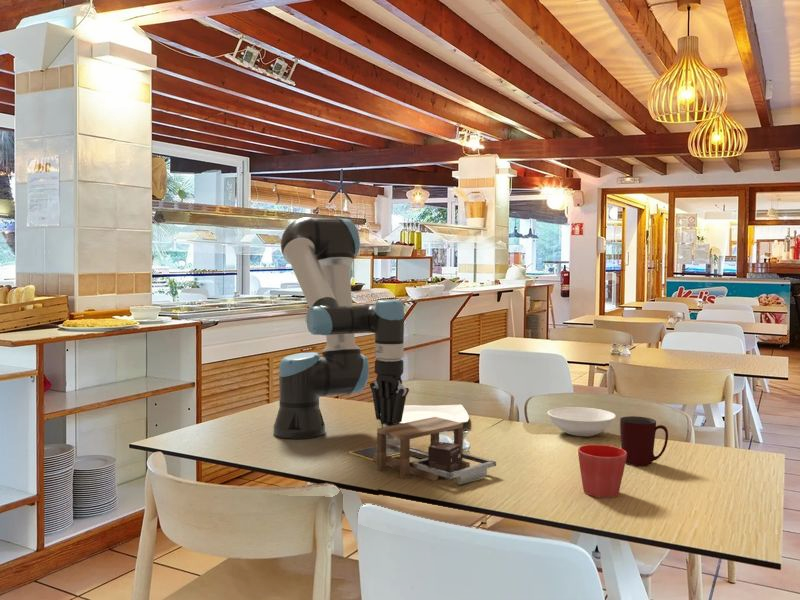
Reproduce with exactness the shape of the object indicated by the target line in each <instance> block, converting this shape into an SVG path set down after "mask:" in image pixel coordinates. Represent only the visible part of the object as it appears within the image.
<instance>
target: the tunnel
mask: <svg viewBox="0 0 800 600" xmlns="http://www.w3.org/2000/svg"><path fill="white" fill-rule="evenodd" d="M452 430H453V444H459V445H461V447H460V450H461V451H460V452H462V453H464V452H463V451H464V445H463V444H464V443H463V442H464V425H463V423H459V422H455V421H451V420H447V419H442V418H438V417H432V418H427V419H422V420H417V421H412V422H407V423H402V424H397V425H393V426H388V427H383V428H382V427H378V428H377V429H376V434H377V435H376V446H377V453H374V454H373V462H374V463H376V470H377V471H386V470H387V467H390V468H393V469H396V470H399V478H403V479H407V478H410V474H412V475H416V476H418V477H422V478H425V479H428V480H431V481H433V482H434V481H435V482H436V481H439V478H438V475H436V474H433V473H430V472H427V471H423V470H420V469H417V468H414V467H410V462H411V461H410V458H411V457H412V456H413V457H416V458H418V459H424V458H421V457H417V456H414V455H410V449H413V450H416V451H420V452H423V453H427V454H428V450H425V449H421V448H419V447H415V446H411V444H410V443H411V440H412V439H416V438H421V437H425V436H426V437H427V436H430V445H429V446H431V445H433V444H436V443H439V442H440V433H443V432H447V431H452ZM386 435H387V436H391V437H395V438H398V439H400V454H399V459H398V458H395V457H393V456H390V457H389V456H386ZM410 456H411V457H410ZM460 458H461V457H460ZM463 459H464V458H461V460H460V461H461V462H460V470H461V469H465V468H468V467H471V466H470V462H469V461H465V460H463Z"/></svg>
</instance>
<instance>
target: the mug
mask: <svg viewBox="0 0 800 600" xmlns="http://www.w3.org/2000/svg"><path fill="white" fill-rule="evenodd" d="M659 429H662V430H663V431H664V432H665V439H664V444H663V446H662V449H661V451H660V453H658V454H657V455H655V454H654V448H655V440H656V432H657V430H659ZM619 430H620V431H619V432H620V448H621V449H623V450H625V451H626V452H627V457H626V462H625V465H631V466H637V467H641V466H642V467H645V466H651V465H652V464H653V462H654V461H656V460H658V459H659V458H660V457H661V456H662V455H664V452H665V450H666V448H667V445H668V441H669V431H668V427H666V426H665V425H663V424H659V425H657V420H655V419H654V418H650V417H645V416H637V415H636V416H635V415H633V416H628V415H627V416H623V417H620V420H619Z"/></svg>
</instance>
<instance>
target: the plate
mask: <svg viewBox="0 0 800 600" xmlns="http://www.w3.org/2000/svg"><path fill="white" fill-rule="evenodd" d="M432 417H438V418H442V419H447V420H451V421H455V422H459V423H463V426H465V425H466V424H468V422H469V420H470V416H469V414H468V412H467V410H466V408H465V407H464V406H463V404H444V405H443V404H441V405H420V404H419V405H412V404H407V405H406V404H405V405H404V411H403V416H402V421H401V422H399V423H396V425H397V424H402V423H407V422H412V421H417V420H422V419H427V418H432Z"/></svg>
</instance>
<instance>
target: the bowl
mask: <svg viewBox="0 0 800 600" xmlns="http://www.w3.org/2000/svg"><path fill="white" fill-rule="evenodd" d="M547 415H548V416H549V417H550V419H551V422H552V424H553V425H554V426H556V427H557V428H558V429H559V430H561V431H563V432H564V433H566V434H567V435H570V436H576V437H577V436H578V437H593V436H596V435H598V434H601V433H602V432H604V431H605V430H606V429H609V428H610V427H611V425H612V423H613V421H614V420H615V419H616V417H617V416H616V414H615V413H614V412H612V411H608V410H605V409H600V408H593V407H585V406H584V407H583V406H563V407H556V408H555V407H554V408H552V409H549V410H548V411H547Z"/></svg>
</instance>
